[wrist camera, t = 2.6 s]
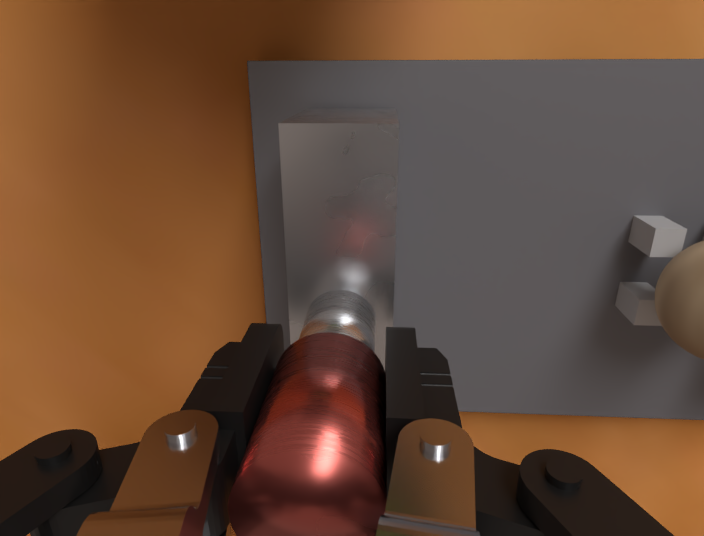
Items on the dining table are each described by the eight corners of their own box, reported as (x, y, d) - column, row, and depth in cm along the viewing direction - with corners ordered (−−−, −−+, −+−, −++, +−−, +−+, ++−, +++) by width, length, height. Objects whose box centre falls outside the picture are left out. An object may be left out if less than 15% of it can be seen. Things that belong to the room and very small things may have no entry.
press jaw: (395, 108, 17) (414, 181, 6) (387, 383, 21) (390, 724, 10) (307, 108, 17) (170, 180, 6) (316, 381, 21) (243, 714, 10)
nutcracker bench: (865, 58, 17) (1017, 56, 13) (747, 400, 22) (830, 476, 18) (257, 61, 18) (220, 59, 14) (279, 384, 24) (256, 452, 19)
